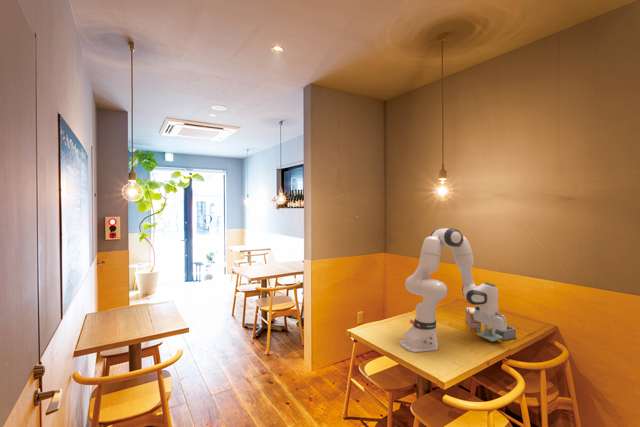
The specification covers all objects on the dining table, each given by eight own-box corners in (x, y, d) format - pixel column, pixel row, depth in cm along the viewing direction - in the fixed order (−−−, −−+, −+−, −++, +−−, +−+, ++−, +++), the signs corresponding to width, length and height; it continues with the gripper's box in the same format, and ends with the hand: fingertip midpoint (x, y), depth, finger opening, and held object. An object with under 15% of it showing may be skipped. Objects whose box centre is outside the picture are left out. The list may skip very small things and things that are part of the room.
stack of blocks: (465, 320, 221) (465, 302, 221) (475, 320, 219) (475, 303, 219) (470, 331, 200) (470, 312, 200) (481, 332, 199) (481, 313, 198)
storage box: (504, 341, 186) (504, 331, 186) (492, 336, 193) (492, 326, 193) (515, 338, 189) (515, 328, 189) (503, 333, 197) (503, 324, 197)
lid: (502, 340, 184) (502, 331, 183) (492, 342, 180) (492, 333, 180) (487, 333, 193) (487, 325, 193) (477, 335, 190) (477, 327, 190)
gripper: (509, 315, 178) (509, 338, 178) (479, 304, 197) (479, 326, 197) (501, 316, 176) (501, 340, 176) (472, 305, 195) (471, 327, 195)
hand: (489, 332), depth 187 cm, fingers open, 3 cm apart
